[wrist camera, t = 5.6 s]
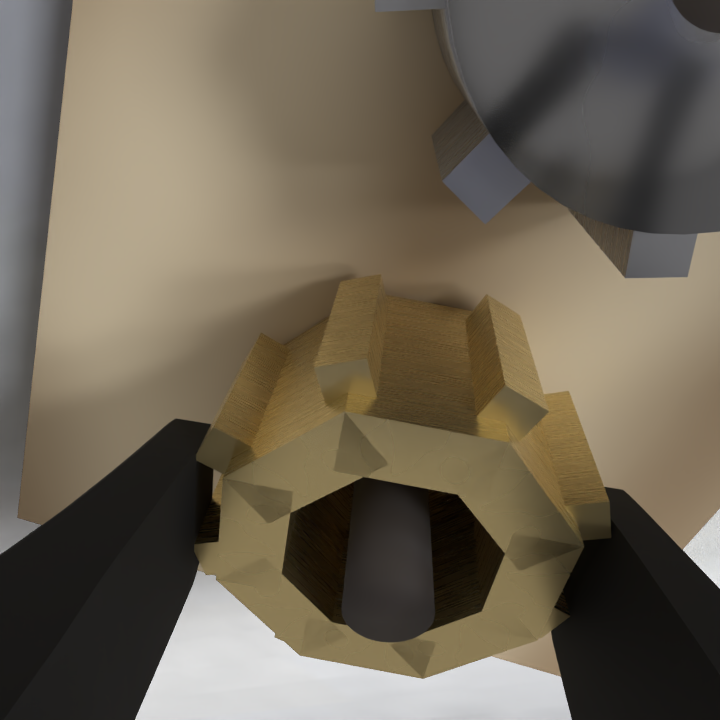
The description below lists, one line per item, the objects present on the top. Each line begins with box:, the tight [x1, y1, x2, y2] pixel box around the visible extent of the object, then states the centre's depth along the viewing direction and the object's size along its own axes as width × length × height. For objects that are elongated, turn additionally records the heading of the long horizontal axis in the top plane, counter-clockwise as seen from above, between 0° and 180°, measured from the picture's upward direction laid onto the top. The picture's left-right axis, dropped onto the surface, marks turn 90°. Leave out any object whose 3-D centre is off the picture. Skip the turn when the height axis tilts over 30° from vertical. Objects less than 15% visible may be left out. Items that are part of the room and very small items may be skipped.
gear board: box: [17, 0, 720, 676], centre depth 8 cm, size 13×18×5 cm
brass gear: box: [194, 274, 611, 679], centre depth 10 cm, size 6×6×3 cm
